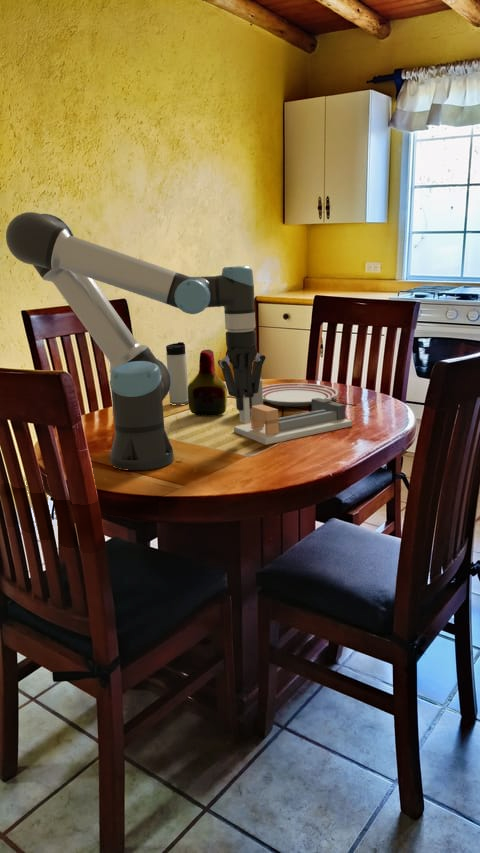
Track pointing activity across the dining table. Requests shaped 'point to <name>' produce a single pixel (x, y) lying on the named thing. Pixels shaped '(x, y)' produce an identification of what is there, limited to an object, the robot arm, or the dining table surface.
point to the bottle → (207, 389)
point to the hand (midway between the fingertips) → (244, 421)
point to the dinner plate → (296, 393)
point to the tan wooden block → (264, 418)
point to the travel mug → (177, 373)
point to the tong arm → (301, 415)
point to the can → (258, 396)
